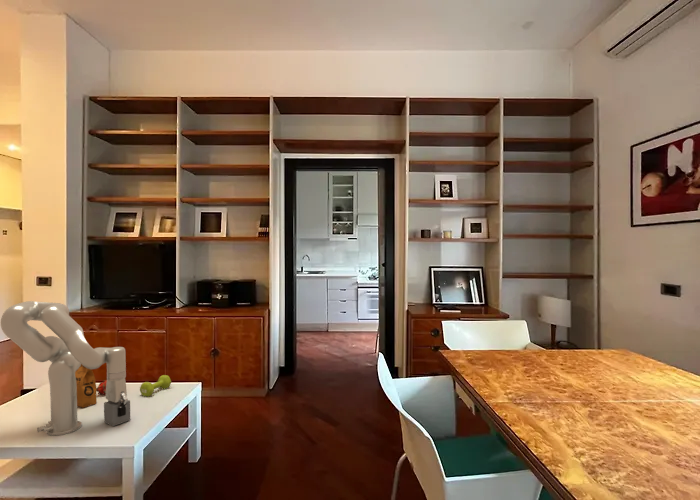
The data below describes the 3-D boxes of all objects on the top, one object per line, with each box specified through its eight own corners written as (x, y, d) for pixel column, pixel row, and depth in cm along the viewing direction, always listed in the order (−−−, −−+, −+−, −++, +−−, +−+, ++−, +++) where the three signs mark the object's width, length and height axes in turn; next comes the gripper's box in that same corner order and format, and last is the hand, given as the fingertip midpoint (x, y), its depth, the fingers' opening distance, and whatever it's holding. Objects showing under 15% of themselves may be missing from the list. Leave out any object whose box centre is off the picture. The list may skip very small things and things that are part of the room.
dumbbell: (149, 398, 217) (149, 384, 217) (138, 396, 219) (137, 383, 219) (172, 387, 232) (172, 375, 232) (161, 386, 235) (161, 373, 235)
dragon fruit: (121, 393, 228) (97, 403, 219) (115, 382, 232) (91, 391, 223) (122, 384, 223) (98, 393, 215) (116, 372, 227) (92, 381, 219)
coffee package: (79, 410, 201) (78, 365, 201) (66, 405, 208) (65, 361, 207) (100, 403, 210) (99, 360, 210) (87, 399, 216) (86, 357, 216)
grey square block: (112, 426, 181) (112, 406, 181) (104, 422, 186) (103, 402, 186) (130, 419, 188) (130, 400, 188) (121, 416, 192) (121, 397, 192)
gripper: (98, 374, 188) (99, 412, 188) (117, 380, 178) (118, 421, 179) (115, 369, 194) (115, 407, 195) (134, 376, 185) (135, 415, 185)
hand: (117, 413), depth 187 cm, fingers closed on grey square block, 7 cm apart
